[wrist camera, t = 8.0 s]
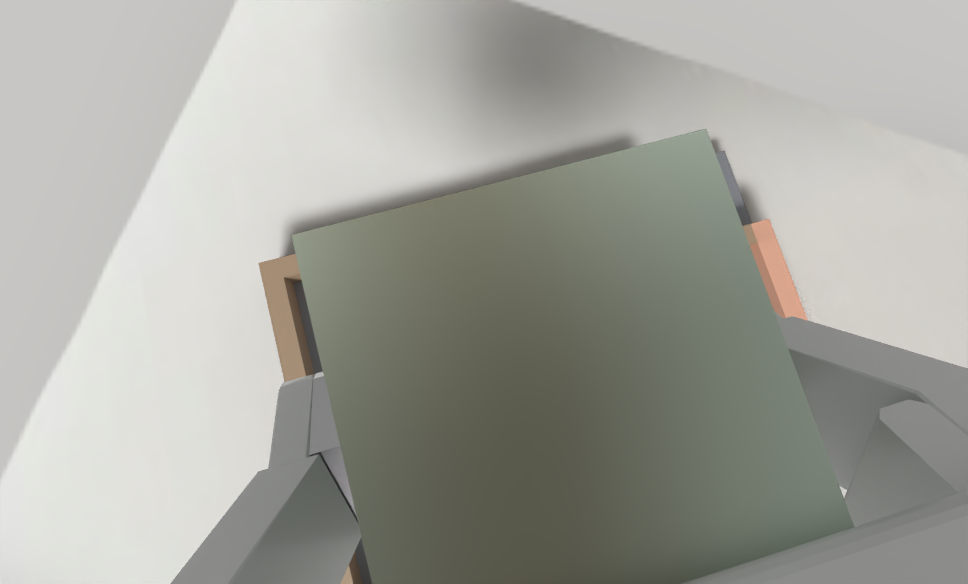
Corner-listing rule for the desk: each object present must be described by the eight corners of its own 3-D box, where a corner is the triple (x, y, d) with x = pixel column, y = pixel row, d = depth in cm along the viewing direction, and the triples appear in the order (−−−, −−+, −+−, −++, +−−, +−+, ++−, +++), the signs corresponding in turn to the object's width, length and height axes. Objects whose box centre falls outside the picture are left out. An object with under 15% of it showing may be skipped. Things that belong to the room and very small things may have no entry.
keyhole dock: (714, 159, 30) (738, 138, 28) (825, 458, 28) (863, 466, 25) (277, 274, 29) (258, 263, 26) (352, 607, 26) (339, 632, 23)
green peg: (552, 290, 14) (706, 128, 5) (599, 443, 13) (867, 558, 4) (403, 332, 14) (290, 236, 5) (444, 490, 13) (401, 714, 4)
